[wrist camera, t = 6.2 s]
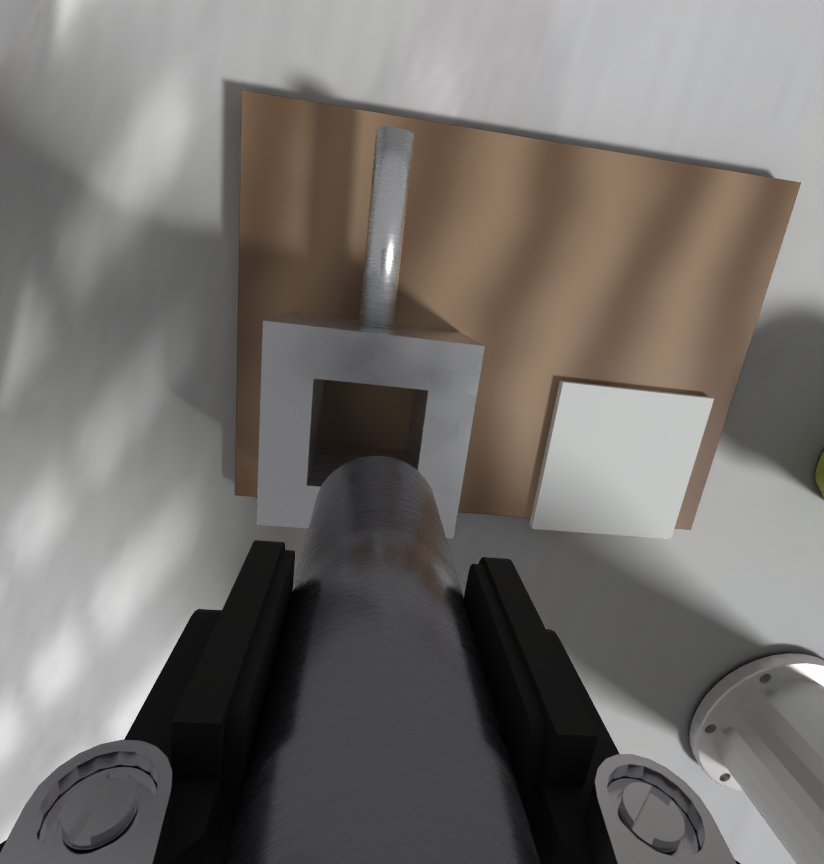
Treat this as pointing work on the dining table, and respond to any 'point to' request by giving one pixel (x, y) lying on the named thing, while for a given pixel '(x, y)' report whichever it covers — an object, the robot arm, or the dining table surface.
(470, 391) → the block
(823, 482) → the plant pot
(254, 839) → the key peg
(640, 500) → the mat
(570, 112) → the dining table surface
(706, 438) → the walnut board
